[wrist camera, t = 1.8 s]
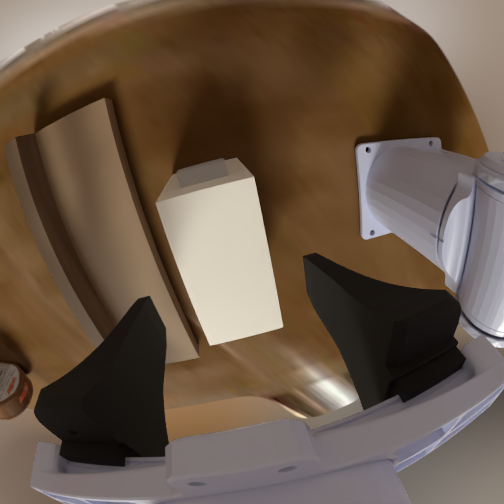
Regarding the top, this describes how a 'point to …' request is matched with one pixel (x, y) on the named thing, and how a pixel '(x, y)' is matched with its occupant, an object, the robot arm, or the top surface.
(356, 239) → the top surface
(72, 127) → the ledge board
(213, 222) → the cabinet block
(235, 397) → the top surface
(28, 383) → the tin
